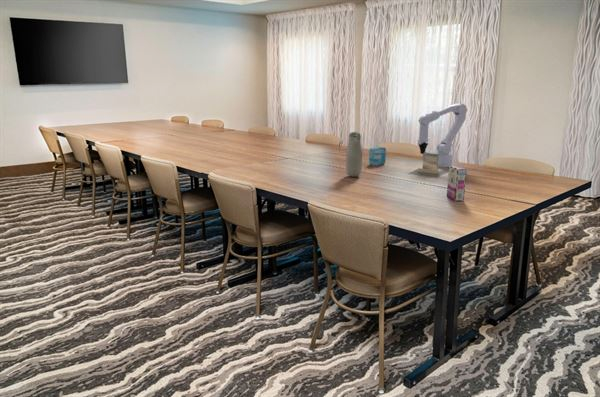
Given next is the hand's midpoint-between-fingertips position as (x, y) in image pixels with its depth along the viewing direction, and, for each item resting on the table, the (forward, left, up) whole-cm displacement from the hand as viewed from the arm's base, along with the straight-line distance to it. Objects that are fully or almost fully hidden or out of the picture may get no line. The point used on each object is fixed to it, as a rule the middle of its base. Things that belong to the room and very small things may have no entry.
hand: (422, 153), depth 318 cm
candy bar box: (+33, +78, -10) cm, 85 cm away
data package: (+23, -21, -10) cm, 33 cm away
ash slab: (+6, +17, -9) cm, 20 cm away
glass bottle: (+57, +10, -10) cm, 59 cm away
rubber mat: (+9, +19, -9) cm, 23 cm away
